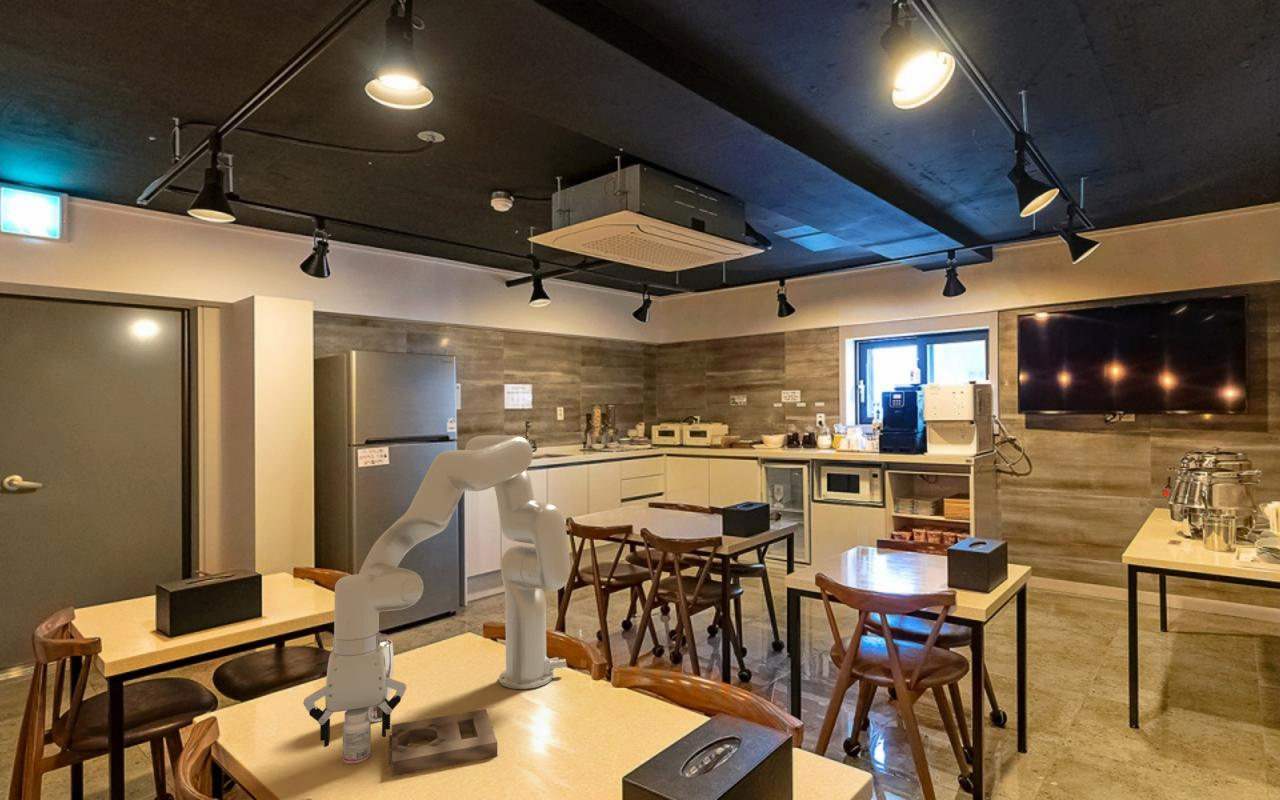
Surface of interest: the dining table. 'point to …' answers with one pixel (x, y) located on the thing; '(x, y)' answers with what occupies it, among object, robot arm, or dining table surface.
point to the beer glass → (376, 711)
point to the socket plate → (441, 742)
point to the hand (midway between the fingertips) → (356, 738)
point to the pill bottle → (356, 736)
